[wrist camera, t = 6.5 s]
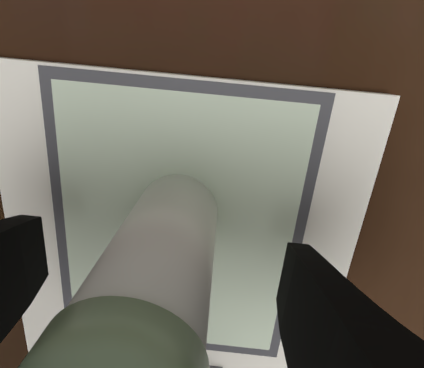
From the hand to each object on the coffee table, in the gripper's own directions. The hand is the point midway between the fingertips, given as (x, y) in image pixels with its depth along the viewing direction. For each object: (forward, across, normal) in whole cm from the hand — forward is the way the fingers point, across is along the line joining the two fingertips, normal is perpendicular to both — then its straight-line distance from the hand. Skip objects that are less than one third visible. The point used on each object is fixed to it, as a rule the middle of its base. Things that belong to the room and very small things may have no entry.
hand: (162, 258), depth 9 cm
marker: (+3, 0, 0) cm, 3 cm away
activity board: (+4, 0, +4) cm, 6 cm away
